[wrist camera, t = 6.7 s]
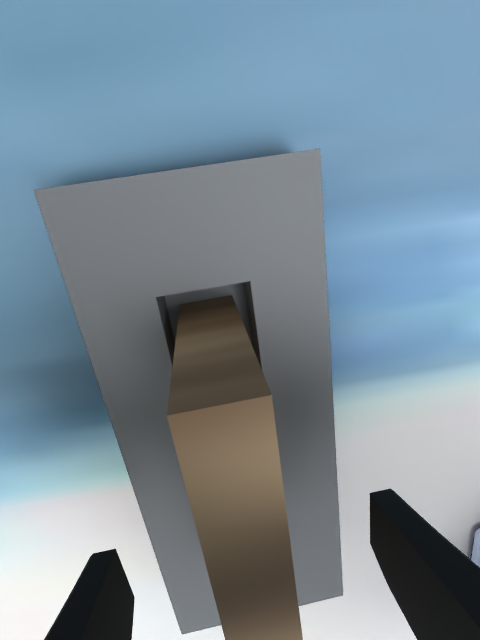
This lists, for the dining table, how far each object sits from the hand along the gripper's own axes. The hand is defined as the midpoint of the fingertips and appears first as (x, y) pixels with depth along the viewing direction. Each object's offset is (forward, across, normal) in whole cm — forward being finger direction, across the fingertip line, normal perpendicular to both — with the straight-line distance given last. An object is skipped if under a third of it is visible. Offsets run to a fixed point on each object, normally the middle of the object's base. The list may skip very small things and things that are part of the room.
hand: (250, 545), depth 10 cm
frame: (+6, 0, 0) cm, 6 cm away
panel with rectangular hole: (+6, 0, 0) cm, 6 cm away
